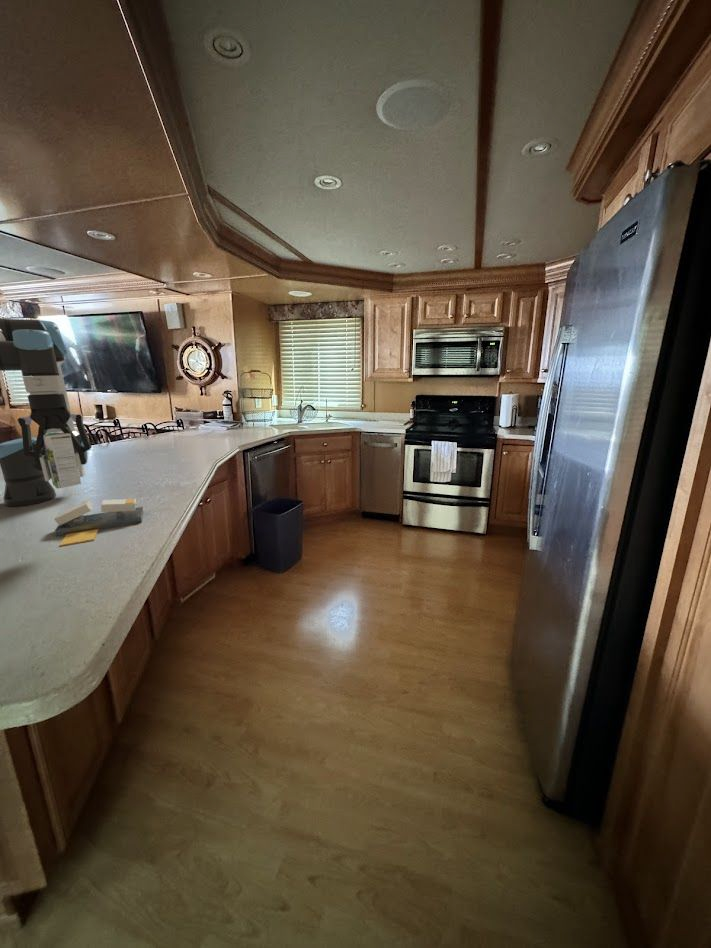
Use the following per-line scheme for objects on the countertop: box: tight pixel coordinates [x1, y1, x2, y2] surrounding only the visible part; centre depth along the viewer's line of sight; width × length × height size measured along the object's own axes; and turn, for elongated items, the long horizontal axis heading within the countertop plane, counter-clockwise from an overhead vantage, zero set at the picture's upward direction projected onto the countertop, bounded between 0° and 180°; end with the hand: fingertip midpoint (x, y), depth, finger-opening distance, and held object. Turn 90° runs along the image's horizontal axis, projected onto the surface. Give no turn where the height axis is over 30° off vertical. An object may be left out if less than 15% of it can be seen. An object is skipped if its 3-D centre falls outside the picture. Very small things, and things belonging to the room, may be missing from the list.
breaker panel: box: [54, 506, 144, 537], centre depth 118 cm, size 10×22×4 cm, turn 116°
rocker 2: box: [100, 498, 137, 513], centre depth 120 cm, size 5×9×3 cm, turn 116°
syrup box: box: [43, 432, 82, 490], centre depth 102 cm, size 6×6×14 cm
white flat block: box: [53, 499, 94, 526], centre depth 115 cm, size 5×9×2 cm, turn 116°
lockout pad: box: [59, 529, 100, 547], centre depth 109 cm, size 8×8×1 cm
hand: (65, 477), depth 104 cm, fingers closed on syrup box, 7 cm apart
